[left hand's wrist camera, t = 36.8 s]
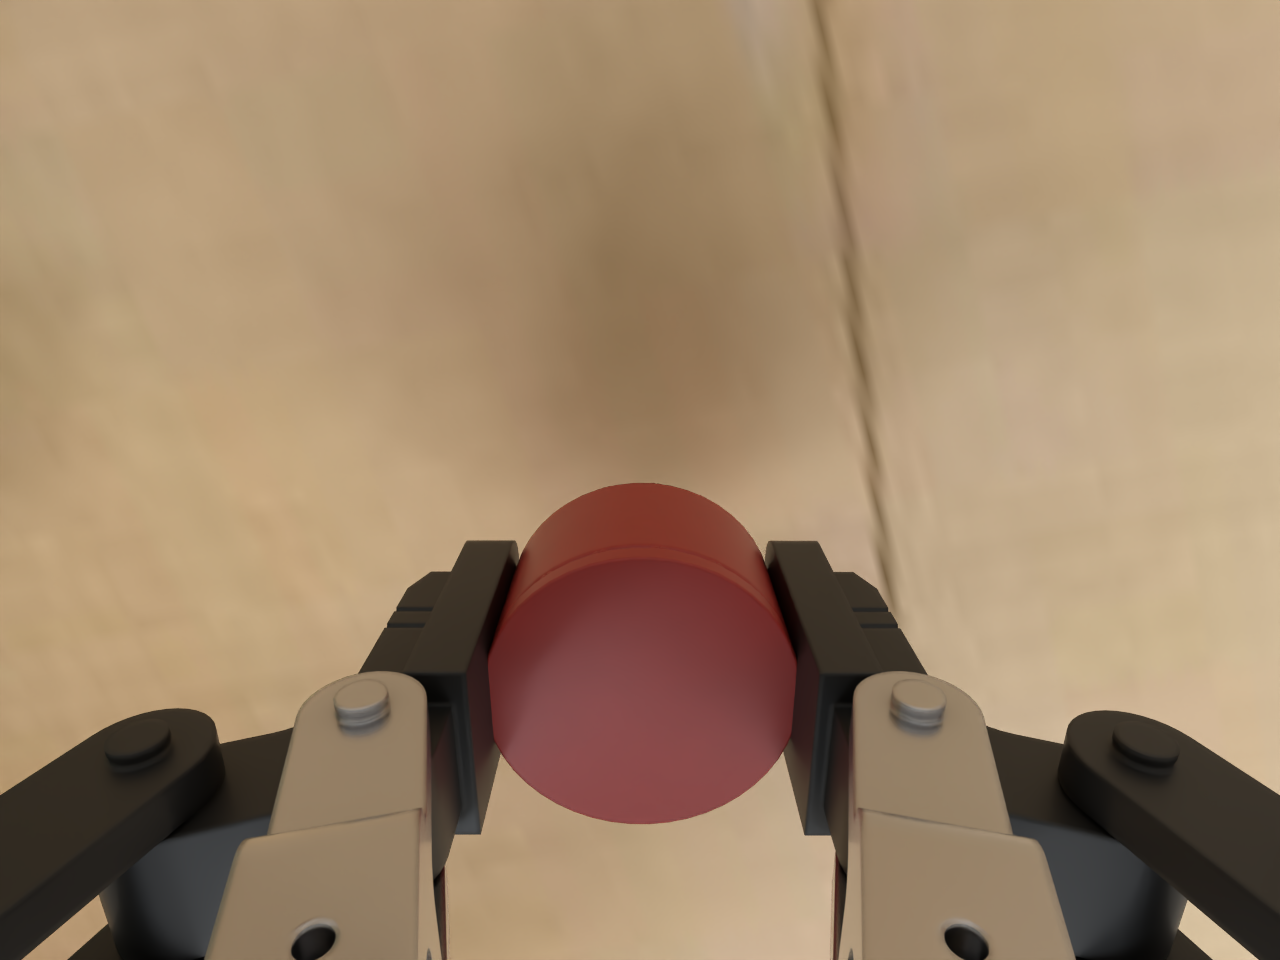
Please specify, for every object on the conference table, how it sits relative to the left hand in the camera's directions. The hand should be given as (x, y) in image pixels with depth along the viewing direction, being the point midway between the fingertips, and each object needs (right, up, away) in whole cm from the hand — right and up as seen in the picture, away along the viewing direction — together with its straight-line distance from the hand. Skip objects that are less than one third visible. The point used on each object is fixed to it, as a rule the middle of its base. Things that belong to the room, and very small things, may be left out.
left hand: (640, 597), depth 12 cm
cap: (0, -1, -2) cm, 2 cm away
